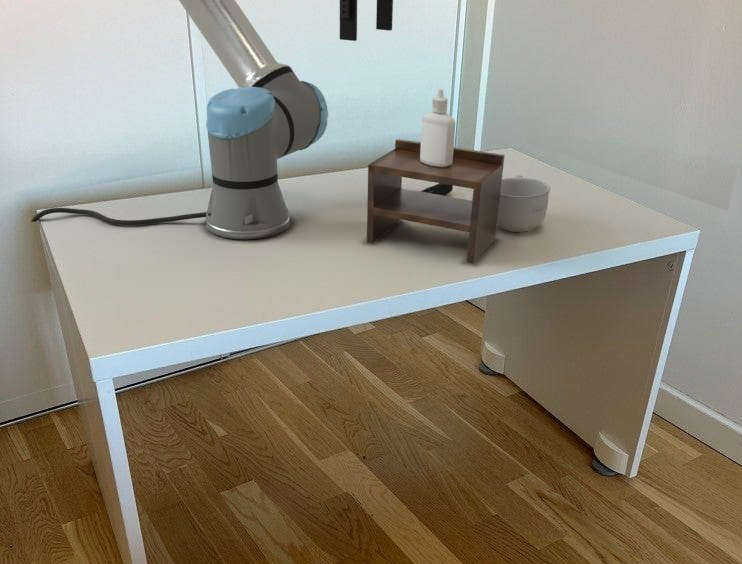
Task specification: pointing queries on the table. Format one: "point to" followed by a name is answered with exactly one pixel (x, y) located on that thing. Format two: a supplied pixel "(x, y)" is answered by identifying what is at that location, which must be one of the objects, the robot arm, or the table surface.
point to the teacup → (522, 203)
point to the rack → (435, 209)
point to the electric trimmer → (439, 189)
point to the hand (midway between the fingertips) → (366, 34)
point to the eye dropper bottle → (437, 134)
